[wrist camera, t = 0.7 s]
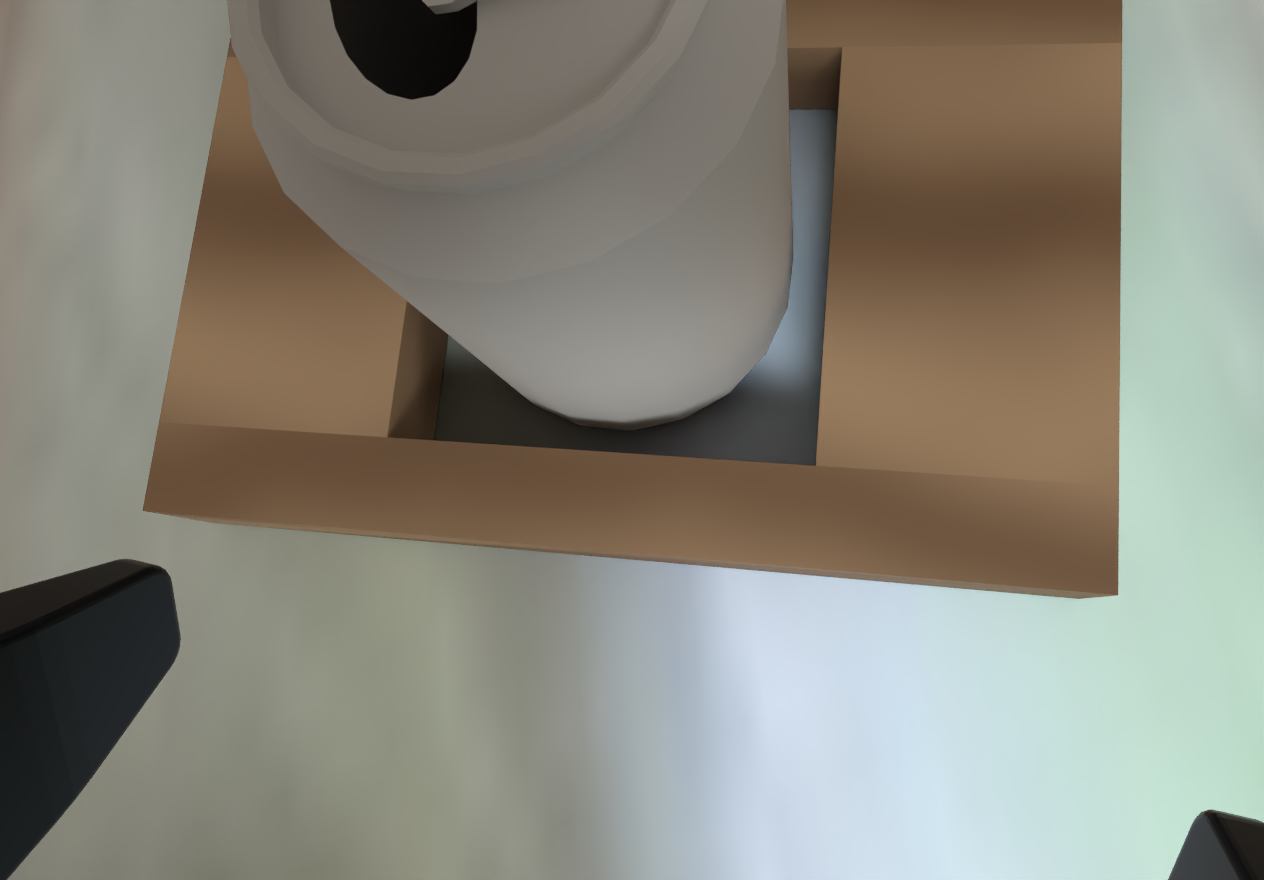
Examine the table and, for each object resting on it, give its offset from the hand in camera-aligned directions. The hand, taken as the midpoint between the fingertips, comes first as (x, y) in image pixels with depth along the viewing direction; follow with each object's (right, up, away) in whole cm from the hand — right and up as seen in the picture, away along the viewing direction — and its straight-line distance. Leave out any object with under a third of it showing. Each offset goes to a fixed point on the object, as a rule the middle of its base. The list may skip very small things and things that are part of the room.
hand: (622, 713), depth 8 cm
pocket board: (0, +6, +14) cm, 16 cm away
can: (0, +6, +15) cm, 16 cm away
